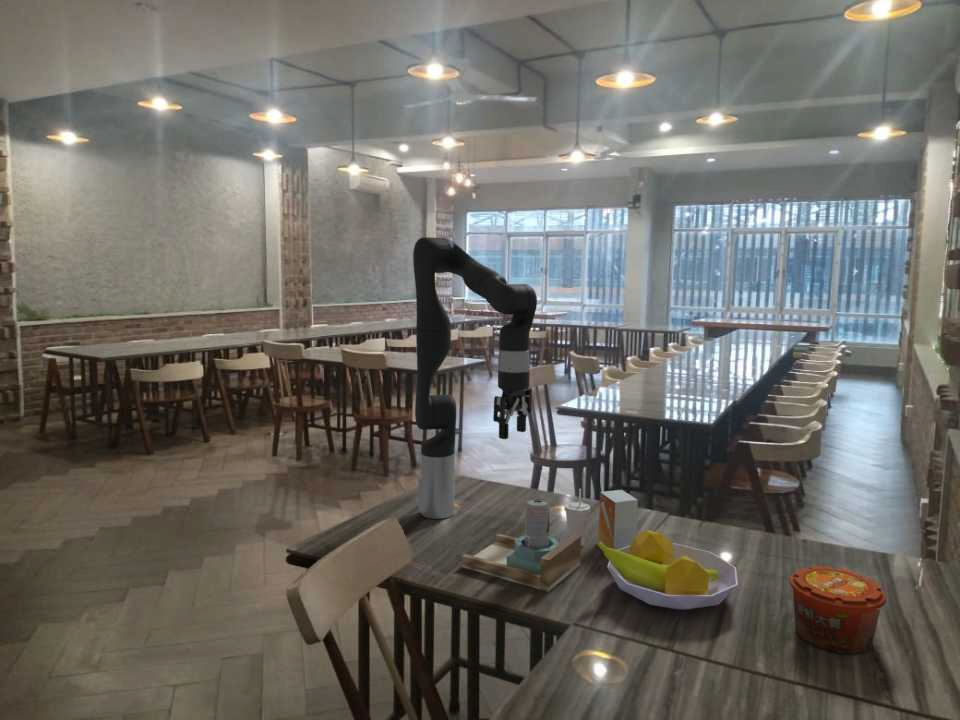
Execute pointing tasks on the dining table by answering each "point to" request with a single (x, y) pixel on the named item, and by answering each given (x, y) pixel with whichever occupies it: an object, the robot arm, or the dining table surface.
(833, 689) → the dining table surface
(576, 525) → the smoothie
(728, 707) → the dining table surface
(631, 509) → the small box
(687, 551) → the fruit bowl
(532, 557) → the tray
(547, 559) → the wooden tray
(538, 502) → the energy drink
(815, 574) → the food container
